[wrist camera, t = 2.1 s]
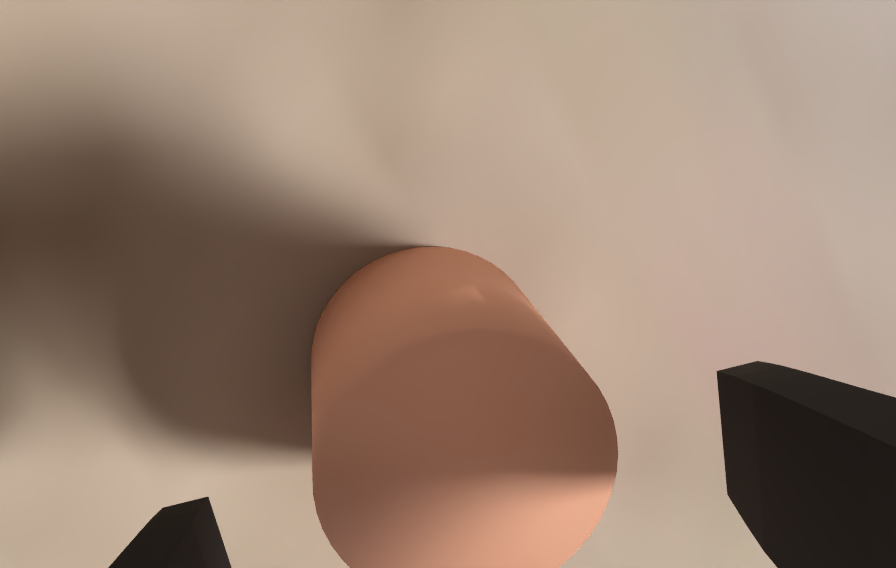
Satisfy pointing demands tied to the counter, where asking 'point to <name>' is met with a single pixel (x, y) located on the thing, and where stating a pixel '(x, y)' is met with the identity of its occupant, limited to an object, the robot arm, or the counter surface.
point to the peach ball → (452, 421)
